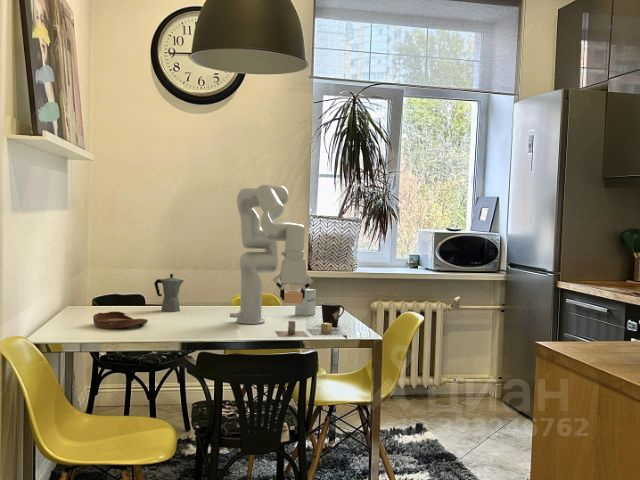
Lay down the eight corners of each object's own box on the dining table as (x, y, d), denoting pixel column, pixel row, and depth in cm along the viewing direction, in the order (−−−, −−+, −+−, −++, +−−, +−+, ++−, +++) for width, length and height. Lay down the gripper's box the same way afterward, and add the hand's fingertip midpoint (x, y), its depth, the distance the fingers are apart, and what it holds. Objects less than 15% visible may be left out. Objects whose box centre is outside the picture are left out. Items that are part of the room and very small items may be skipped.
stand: (278, 340, 259) (278, 323, 259) (274, 334, 271) (275, 318, 270) (308, 340, 261) (309, 323, 261) (303, 334, 273) (304, 319, 273)
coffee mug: (323, 328, 291) (324, 305, 291) (318, 324, 299) (319, 302, 299) (348, 327, 294) (349, 305, 294) (342, 324, 303) (343, 302, 302)
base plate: (312, 338, 265) (312, 326, 264) (306, 332, 278) (306, 320, 278) (346, 338, 267) (347, 326, 267) (339, 332, 281) (339, 320, 281)
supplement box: (306, 316, 324) (307, 290, 323) (294, 314, 328) (295, 288, 328) (315, 314, 330) (316, 289, 329) (303, 313, 334) (304, 287, 334)
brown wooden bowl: (157, 325, 283) (157, 314, 283) (128, 333, 264) (129, 320, 264) (113, 321, 291) (113, 309, 291) (82, 327, 272) (82, 315, 272)
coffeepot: (178, 308, 334) (179, 272, 333) (187, 311, 326) (188, 274, 326) (149, 310, 324) (150, 273, 323) (158, 313, 317) (159, 275, 316)
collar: (284, 303, 262) (285, 293, 262) (282, 300, 269) (282, 290, 268) (302, 303, 263) (302, 293, 263) (299, 300, 270) (299, 290, 270)
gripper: (273, 255, 260) (271, 300, 260) (317, 256, 263) (315, 301, 264) (271, 253, 267) (269, 297, 268) (313, 255, 270) (311, 298, 271)
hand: (292, 299), depth 266 cm, fingers closed on collar, 7 cm apart
